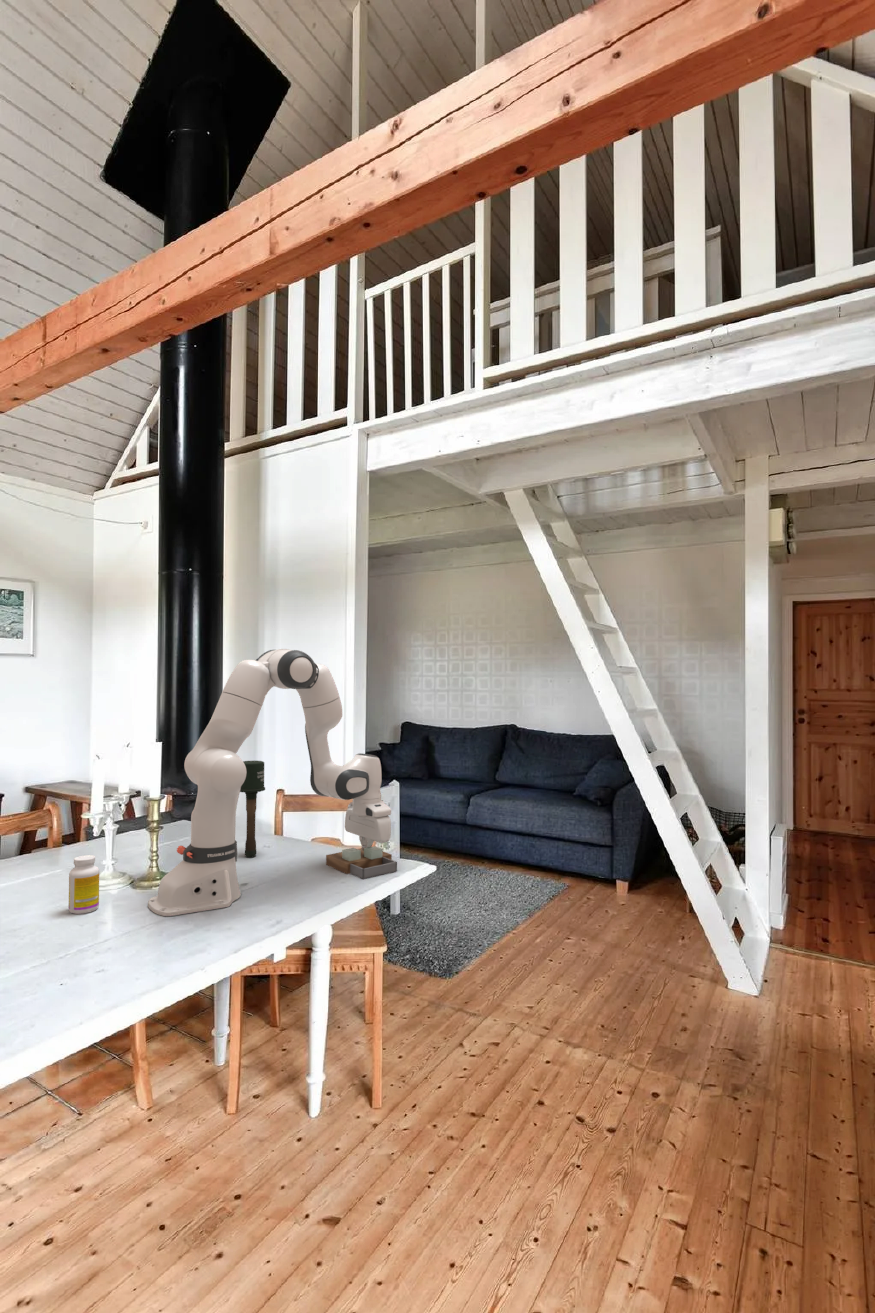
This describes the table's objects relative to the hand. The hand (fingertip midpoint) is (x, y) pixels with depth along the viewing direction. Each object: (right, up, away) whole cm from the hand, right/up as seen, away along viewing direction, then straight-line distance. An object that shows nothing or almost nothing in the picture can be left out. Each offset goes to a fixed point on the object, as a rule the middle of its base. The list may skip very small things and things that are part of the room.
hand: (366, 851), depth 205 cm
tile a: (-4, -1, -4) cm, 6 cm away
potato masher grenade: (-38, -4, +8) cm, 39 cm away
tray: (+3, -4, -8) cm, 10 cm away
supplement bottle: (-65, -3, -40) cm, 77 cm away
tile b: (+2, -1, -3) cm, 4 cm away
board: (-2, -4, 0) cm, 5 cm away
